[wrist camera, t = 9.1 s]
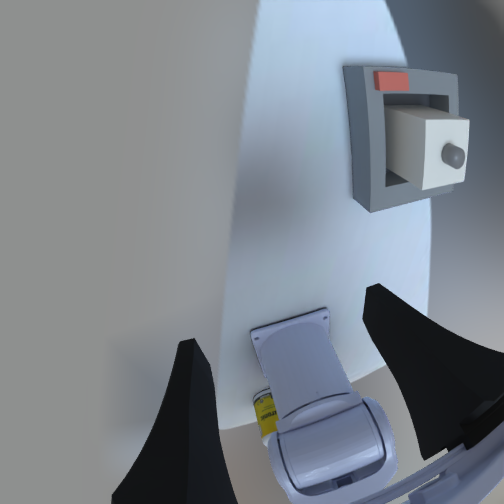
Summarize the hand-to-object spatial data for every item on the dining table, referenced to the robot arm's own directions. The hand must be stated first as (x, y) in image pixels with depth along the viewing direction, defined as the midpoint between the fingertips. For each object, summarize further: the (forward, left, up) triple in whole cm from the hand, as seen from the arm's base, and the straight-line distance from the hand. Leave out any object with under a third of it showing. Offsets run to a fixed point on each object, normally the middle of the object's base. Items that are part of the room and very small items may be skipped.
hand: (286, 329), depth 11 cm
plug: (+4, -13, -10) cm, 17 cm away
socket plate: (+4, -13, -10) cm, 17 cm away
